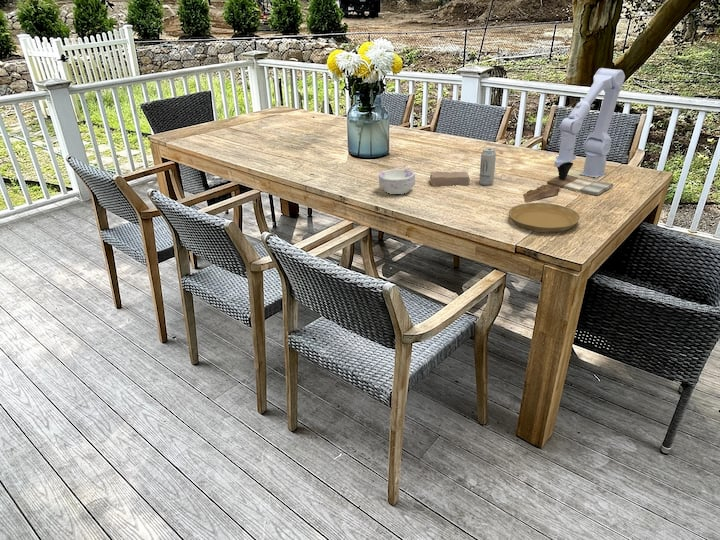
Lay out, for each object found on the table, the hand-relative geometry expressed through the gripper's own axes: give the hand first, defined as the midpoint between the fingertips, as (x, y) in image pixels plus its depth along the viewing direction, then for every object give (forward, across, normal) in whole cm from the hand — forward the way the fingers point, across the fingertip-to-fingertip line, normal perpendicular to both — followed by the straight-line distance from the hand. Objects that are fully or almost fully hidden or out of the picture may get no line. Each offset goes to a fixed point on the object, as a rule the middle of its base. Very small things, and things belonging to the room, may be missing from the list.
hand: (562, 179), depth 220 cm
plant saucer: (+2, +44, +16) cm, 47 cm away
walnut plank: (+1, 0, 0) cm, 1 cm away
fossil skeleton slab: (+2, +18, +1) cm, 18 cm away
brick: (+2, +31, -36) cm, 48 cm away
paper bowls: (+2, +54, -46) cm, 71 cm away
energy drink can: (+2, +22, -23) cm, 32 cm away
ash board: (+1, 0, +8) cm, 8 cm away
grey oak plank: (+1, 0, +15) cm, 15 cm away
